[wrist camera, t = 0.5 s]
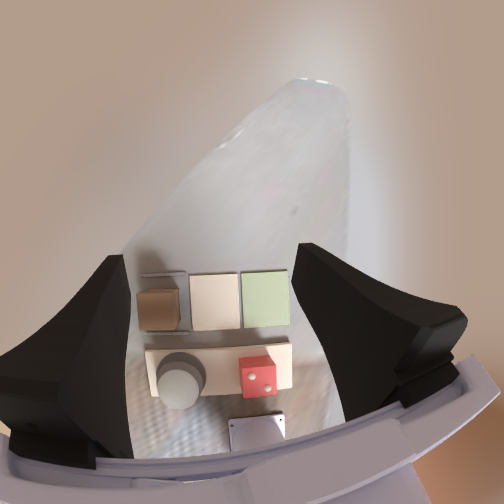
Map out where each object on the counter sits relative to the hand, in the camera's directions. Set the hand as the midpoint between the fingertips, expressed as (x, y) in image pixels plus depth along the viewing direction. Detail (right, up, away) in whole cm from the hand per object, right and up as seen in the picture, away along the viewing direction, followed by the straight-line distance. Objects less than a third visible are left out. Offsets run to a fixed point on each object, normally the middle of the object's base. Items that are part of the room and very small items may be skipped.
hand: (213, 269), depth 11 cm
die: (+2, -15, +24) cm, 28 cm away
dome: (-7, -15, +20) cm, 26 cm away
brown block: (-10, -6, +24) cm, 26 cm away
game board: (-3, -10, +24) cm, 26 cm away
